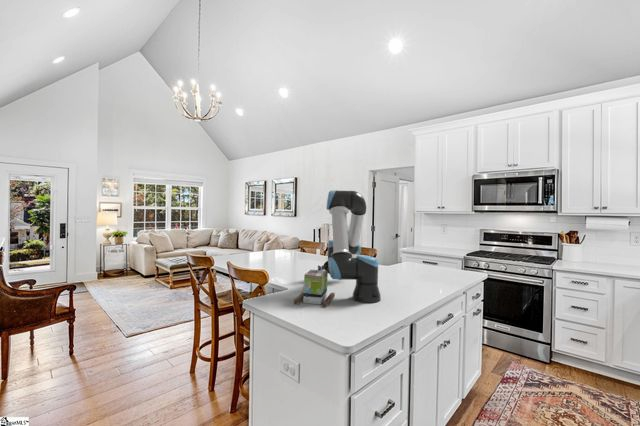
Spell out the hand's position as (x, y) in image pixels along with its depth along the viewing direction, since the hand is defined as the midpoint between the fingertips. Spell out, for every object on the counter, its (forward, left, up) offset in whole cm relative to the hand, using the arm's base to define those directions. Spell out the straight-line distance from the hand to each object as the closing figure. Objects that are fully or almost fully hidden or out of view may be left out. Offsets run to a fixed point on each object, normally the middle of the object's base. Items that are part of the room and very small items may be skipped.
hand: (321, 274), depth 176 cm
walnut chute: (0, +14, -11) cm, 18 cm away
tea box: (0, +13, -11) cm, 17 cm away
